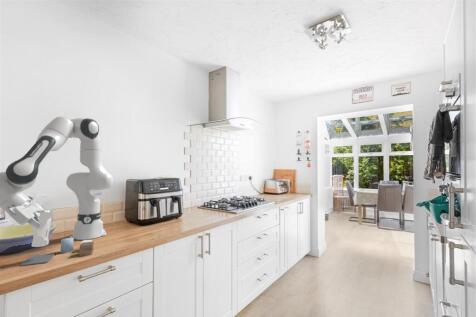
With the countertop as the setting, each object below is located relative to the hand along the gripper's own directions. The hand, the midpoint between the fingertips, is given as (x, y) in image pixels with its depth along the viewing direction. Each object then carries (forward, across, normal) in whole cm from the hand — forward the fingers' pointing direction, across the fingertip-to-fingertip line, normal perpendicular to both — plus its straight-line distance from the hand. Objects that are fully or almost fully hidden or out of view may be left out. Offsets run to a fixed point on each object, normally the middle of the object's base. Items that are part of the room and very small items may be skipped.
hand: (43, 224), depth 105 cm
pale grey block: (+22, +8, 0) cm, 23 cm away
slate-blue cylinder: (+16, +8, +6) cm, 19 cm away
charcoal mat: (+10, 0, +12) cm, 15 cm away
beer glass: (+6, 0, +7) cm, 9 cm away
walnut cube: (+23, +1, -1) cm, 23 cm away
